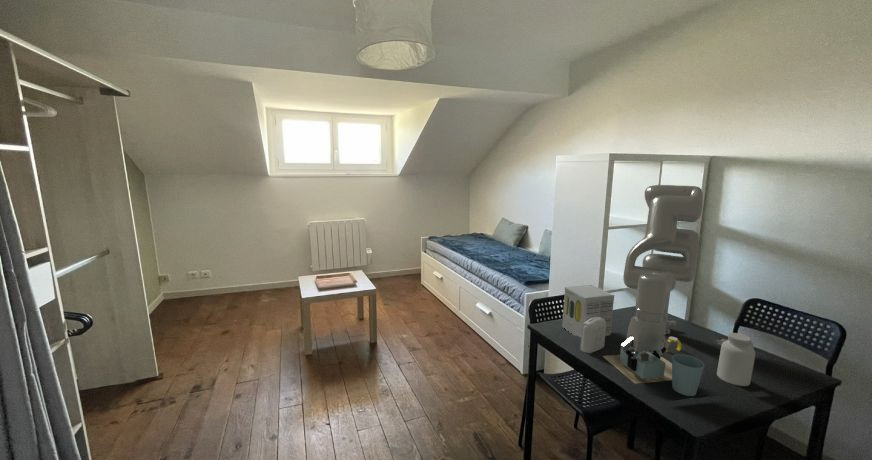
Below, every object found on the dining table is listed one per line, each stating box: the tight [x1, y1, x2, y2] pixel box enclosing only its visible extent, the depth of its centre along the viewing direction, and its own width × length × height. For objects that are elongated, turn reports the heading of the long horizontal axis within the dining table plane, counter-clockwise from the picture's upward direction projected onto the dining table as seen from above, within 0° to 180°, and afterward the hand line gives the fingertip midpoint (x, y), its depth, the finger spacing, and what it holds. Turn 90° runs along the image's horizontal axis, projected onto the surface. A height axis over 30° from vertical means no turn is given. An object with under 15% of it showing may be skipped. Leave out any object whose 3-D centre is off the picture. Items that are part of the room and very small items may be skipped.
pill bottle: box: [716, 332, 756, 387], centre depth 109 cm, size 8×8×15 cm
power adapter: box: [711, 338, 755, 349], centre depth 127 cm, size 11×5×6 cm, turn 63°
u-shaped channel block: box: [619, 347, 665, 379], centre depth 112 cm, size 10×7×4 cm
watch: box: [665, 336, 682, 353], centre depth 126 cm, size 6×3×6 cm, turn 98°
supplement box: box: [562, 284, 615, 338], centre depth 141 cm, size 13×13×18 cm
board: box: [602, 351, 672, 385], centre depth 116 cm, size 20×16×8 cm
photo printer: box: [579, 317, 606, 354], centre depth 127 cm, size 10×4×12 cm, turn 123°
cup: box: [671, 353, 705, 400], centre depth 103 cm, size 8×8×10 cm
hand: (642, 367), depth 112 cm, fingers closed on u-shaped channel block, 7 cm apart
